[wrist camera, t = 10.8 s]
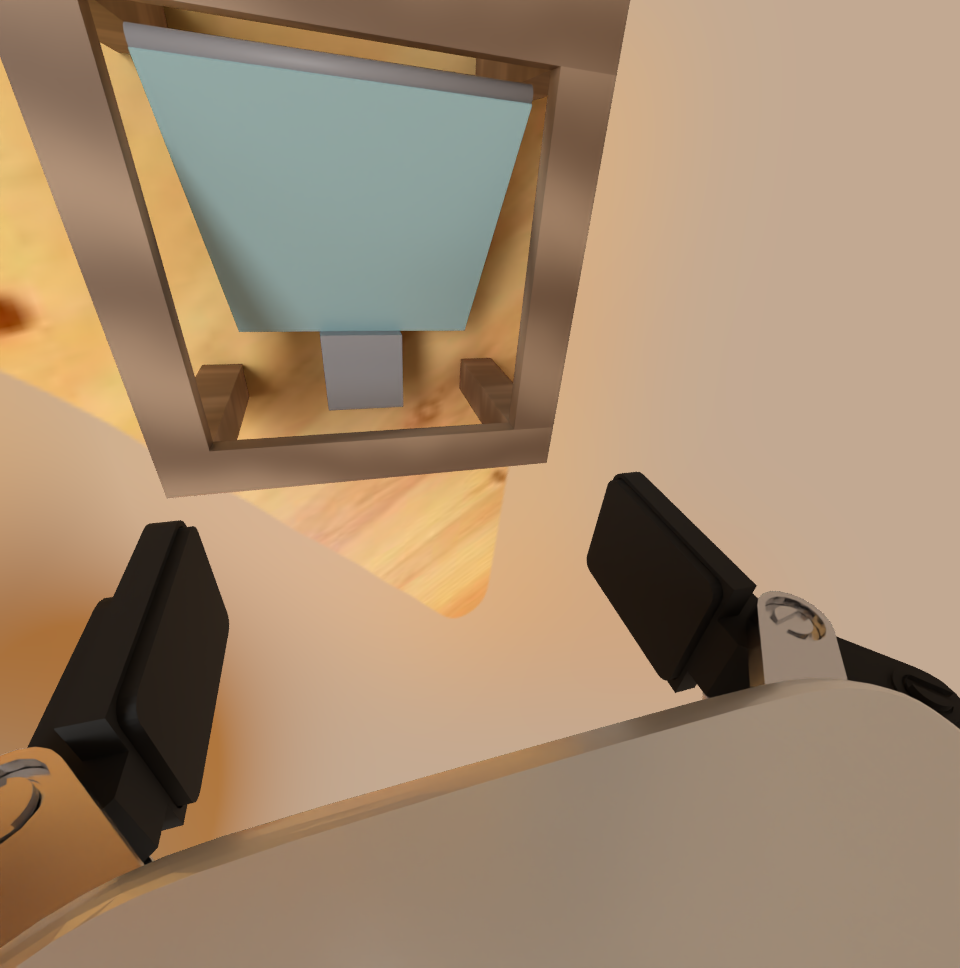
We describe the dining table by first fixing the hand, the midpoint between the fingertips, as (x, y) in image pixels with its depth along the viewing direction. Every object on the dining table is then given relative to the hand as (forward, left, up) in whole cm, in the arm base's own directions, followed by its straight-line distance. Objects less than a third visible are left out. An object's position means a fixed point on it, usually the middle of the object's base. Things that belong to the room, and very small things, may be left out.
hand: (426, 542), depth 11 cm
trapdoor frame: (-3, 0, -27) cm, 27 cm away
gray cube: (+1, 0, -24) cm, 24 cm away
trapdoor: (-5, 0, -19) cm, 20 cm away
